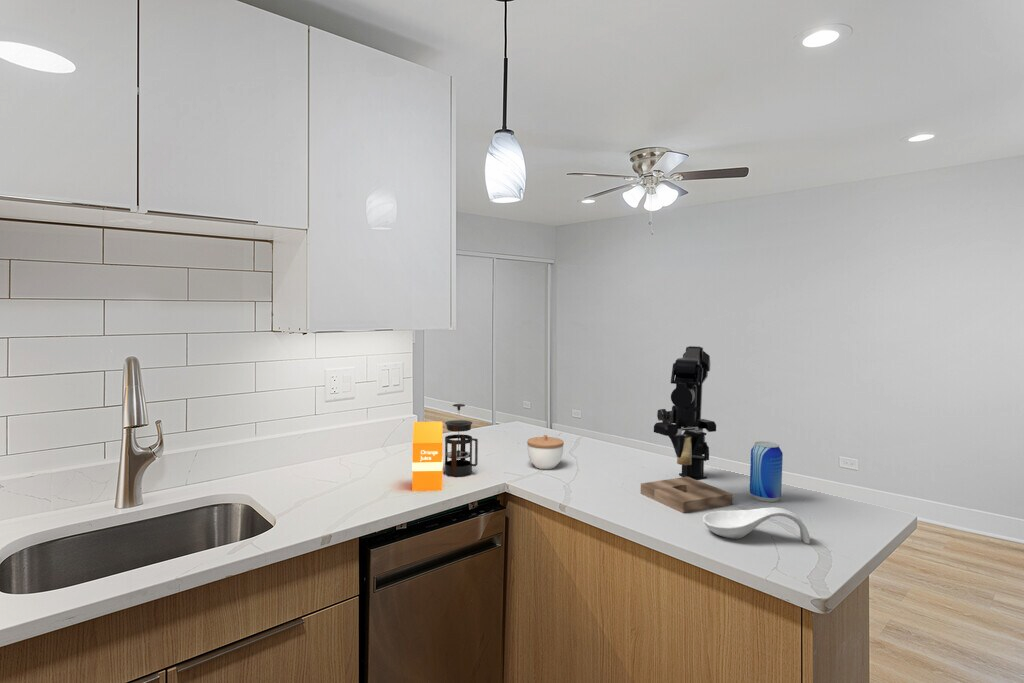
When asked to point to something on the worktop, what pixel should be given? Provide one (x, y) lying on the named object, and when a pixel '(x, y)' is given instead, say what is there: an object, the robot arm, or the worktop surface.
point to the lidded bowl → (545, 451)
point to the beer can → (766, 471)
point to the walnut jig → (686, 494)
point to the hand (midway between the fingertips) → (684, 456)
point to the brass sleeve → (686, 452)
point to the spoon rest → (748, 521)
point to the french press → (460, 466)
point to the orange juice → (427, 456)
